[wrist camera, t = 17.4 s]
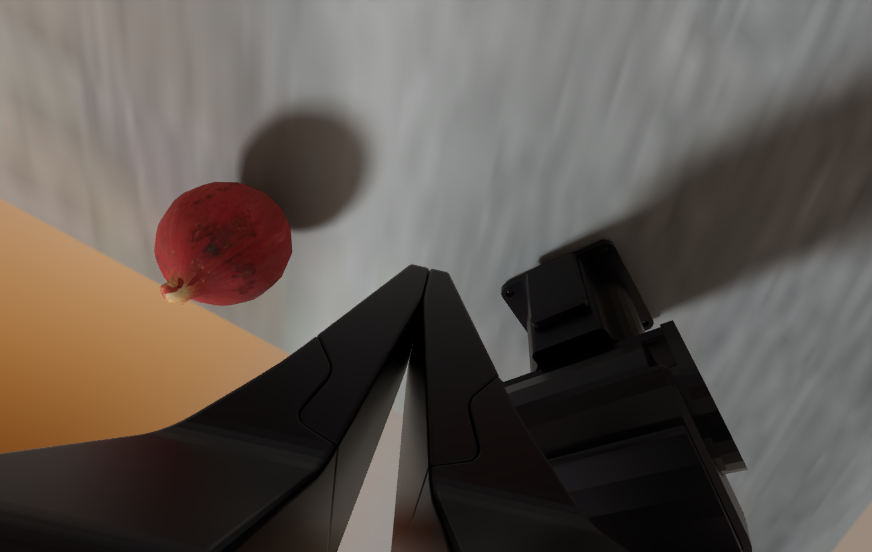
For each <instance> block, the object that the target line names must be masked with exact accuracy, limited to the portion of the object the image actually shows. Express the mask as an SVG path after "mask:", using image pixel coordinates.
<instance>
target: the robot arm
mask: <svg viewBox="0 0 872 552" xmlns="http://www.w3.org/2000/svg"><path fill="white" fill-rule="evenodd" d="M603 248H609V249H608V251H606V252H601V250H602V249H603ZM428 273H429V274H428ZM508 290H512V291H514V292H513V293H507V291H508ZM501 295H502V297H503V299H504V300H505V302H506V303H507V304H508V306H509V307H510V309H511V310H512V311H513V313H514V314H515V316H516V317H517V318H518V320H519V321H520V323H521V324H522V325H523V327H524V328H525V330H526V331H527V333H528V343H529V355H530V368H531V373H528V374H525V375H522V376H520V377H517V378H514V379H511V380H508V381H505V382H503V381H501V379H500V378H498V377H499V376H498V373H497V371H496V369H495V367H494V365H493V363H492V361H491V359H490V357H489V355H488V353H487V351H486V349H485V347H484V345H483V343H482V340H481V338H480V336H479V334H478V332H477V330H476V328H475V326H474V324H473V322H472V320H471V318H470V316H469V314H468V312H467V310H466V308H465V306H464V304H463V301H462V299H461V297H460V295H459V293H458V291H457V289H456V287H455V285H454V283H453V281H452V279H451V277H450V275H449V273H447V272H444V271H439V270H435V269H431V270H430V271H429V270H428V268H426V267H421V266H417V265H409V266H408V267H407V268H405V269H404V270H403V271H401V272H400V273H399V274H397V275H396V276H395V277H393V278H392V279H391V280H390V281H388V282H387V283H386V284H384V285H383V286H382V287H380V288H379V289H378V290H376V291H375V292H374V293H372V294H371V295H370V296H369V297H367V298H366V299H365V300H363V301H362V302H361V303H359V304H358V305H357V306H355V307H354V308H353V309H352V310H350V311H349V312H348V313H346V314H345V315H344V316H342V317H341V318H340V319H338V320H337V321H336V322H334V323H333V324H332V325H331V326H329V327H328V328H327V329H325V330H324V331H323V332H321V333H320V334H319V335H318V336H317V337H315V338H313V339H312V340H311V341H309V342H308V343H307V344H305V345H304V346H303V347H301V348H300V349H299V350H297V351H296V352H294V353H293V354H292V355H290V356H289V357H287V358H286V359H284V360H283V361H282V362H280V363H279V364H277V365H275V366H274V367H272V368H270V369H269V370H267V371H266V372H264V373H262V374H261V375H259V376H258V377H256V378H254V379H253V380H251V381H249V382H248V383H246V384H244V385H243V386H241V387H239V388H238V389H236V390H234V391H232V392H231V393H229V394H227V395H226V396H224V397H222V398H221V399H219V400H217V401H215V402H214V403H212V404H210V405H209V406H207V407H205V408H204V409H202V410H200V411H199V412H197V413H195V414H193V415H192V416H190V417H188V418H186V419H185V420H183V421H181V422H178V423H176V424H174V425H171V426H169V427H166V428H163V429H161V430H158V431H154V432H151V433H146V434H141V435H134V436H127V437H119V438H112V439H105V440H97V441H90V442H83V443H75V444H68V445H60V446H53V447H46V448H39V449H32V450H24V451H16V452H9V453H2V454H0V552H337V550H338V548H339V545H340V542H341V540H342V537H343V535H344V532H345V529H346V527H347V524H348V521H349V519H350V516H351V514H352V511H353V508H354V505H355V503H356V500H357V498H358V495H359V492H360V489H361V487H362V485H363V481H364V479H365V477H366V474H367V471H368V468H369V466H370V463H371V461H372V458H373V455H374V453H375V450H376V447H377V445H378V442H379V440H380V437H381V434H382V432H383V429H384V426H385V423H386V421H387V418H388V416H389V413H390V411H391V408H392V405H393V403H394V400H395V397H396V395H397V392H398V390H399V387H400V384H401V382H402V379H403V376H404V374H405V371H406V368H407V365H408V371H407V381H406V392H405V403H404V414H403V425H402V436H401V447H400V459H399V470H398V480H397V491H396V503H395V514H394V525H393V535H392V546H391V552H752V546H751V541H750V537H749V532H748V528H747V523H746V519H745V516H744V513H743V511H742V509H741V507H740V505H739V503H738V500H737V498H736V496H735V494H734V492H733V490H732V488H731V486H730V483H729V481H728V479H727V477H726V475H725V474H728V473H733V472H738V471H743V470H748V469H747V467H746V465H745V463H744V461H743V459H742V457H741V455H740V453H739V451H738V449H737V447H736V445H735V443H734V441H733V438H732V436H731V434H730V432H729V430H728V428H727V426H726V424H725V422H724V420H723V418H722V416H721V414H720V412H719V410H718V408H717V406H716V404H715V402H714V400H713V398H712V396H711V394H710V392H709V390H708V388H707V386H706V384H705V382H704V380H703V378H702V376H701V374H700V372H699V371H698V369H697V367H696V365H695V363H694V361H693V359H692V357H691V355H690V353H689V351H688V349H687V347H686V345H685V343H684V341H683V339H682V337H681V335H680V333H679V331H678V329H677V327H676V325H675V324H674V322H673V320H672V321H669V322H666V323H663V324H660V326H661V327H659V328H657V329H654V330H651V331H648V332H645V331H646V330H648V329H650V328H651V327H652V326H653V324H654V322H653V319H652V317H651V315H650V313H649V311H648V309H647V307H646V305H645V303H644V302H643V300H642V298H641V296H640V294H639V292H638V290H637V288H636V286H635V284H634V282H633V280H632V278H631V277H630V275H629V273H628V271H627V269H626V267H625V265H624V263H623V261H622V259H621V257H620V255H619V254H618V252H617V250H616V248H615V246H614V244H613V243H612V242H611V241H609V240H601V241H598V242H596V243H594V244H592V245H590V246H587V247H585V248H583V249H581V250H578V251H576V252H574V253H572V254H570V253H568V254H566V255H564V256H561V257H559V258H557V259H555V260H553V261H550V262H548V263H546V264H544V265H542V266H539V267H537V268H535V269H533V270H531V271H528V272H527V274H526V275H523V276H521V277H519V278H517V279H514V280H512V281H510V282H508V283H506V284H504V285H503V286H502V289H501ZM642 321H646V322H644V323H641V322H642ZM412 344H413V345H412ZM410 353H411V354H410ZM409 357H410V359H409ZM408 361H409V364H408Z"/></svg>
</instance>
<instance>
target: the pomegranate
mask: <svg viewBox="0 0 872 552" xmlns="http://www.w3.org/2000/svg"><path fill="white" fill-rule="evenodd" d="M291 254H292V242H291V230H290V225H289V223H288V221H287V219H286V216H285V214H284V212H283V210H282V208H281V207H280V206H279V205H278V204H277V203H276V202H275V201H273V200H272V199H271V198H270V197H269V196H268V195H267V194H266V193H265V192H262V191H260V190H257V189H255V188H253V187H250V186H248V185H245V184H241V183H237V182H213V183H209V184H205V185H202V186H200V187H197V188H195V189H192V190H190V191H187V192H185V193H183V194H182V195H181V196H179V197H178V198H177V199H176V200H174V202H173V203H172V205H171V206H170V207H169V209H168V210H167V212H166V213H165V215H164V216H163V218H162V219H161V221H160V223H159V224H158V228H157V232H156V241H155V257H156V260H157V263H158V266H159V268H160V270H161V272H162V274H163V276H164V278H165V279H166V280H167V283H166V284H163V285H162V286H161V287H160V290H161V293H162V296H163V297H164V299H165V300H166V301H167V302H168V303H178V304H182V305H183V304H184V303H185V302H187V301H188V300H190V299H193V300H196V301H198V302H201V303H207V304H212V305H219V306H227V305H233V304H238V303H243V302H247V301H250V300H254V299H255V298H257V297H259V296H260V295H262V294H263V293H264V292H266V291H267V290H268V289H269V288H270V287H272V286H273V285H274V284H275V283H276V282H277V281H278V280H279V279H280V278H281V277H282V275H283V272H284V270H285V268H286V266H287V263H288V261H289V259H290V256H291Z"/></svg>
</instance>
